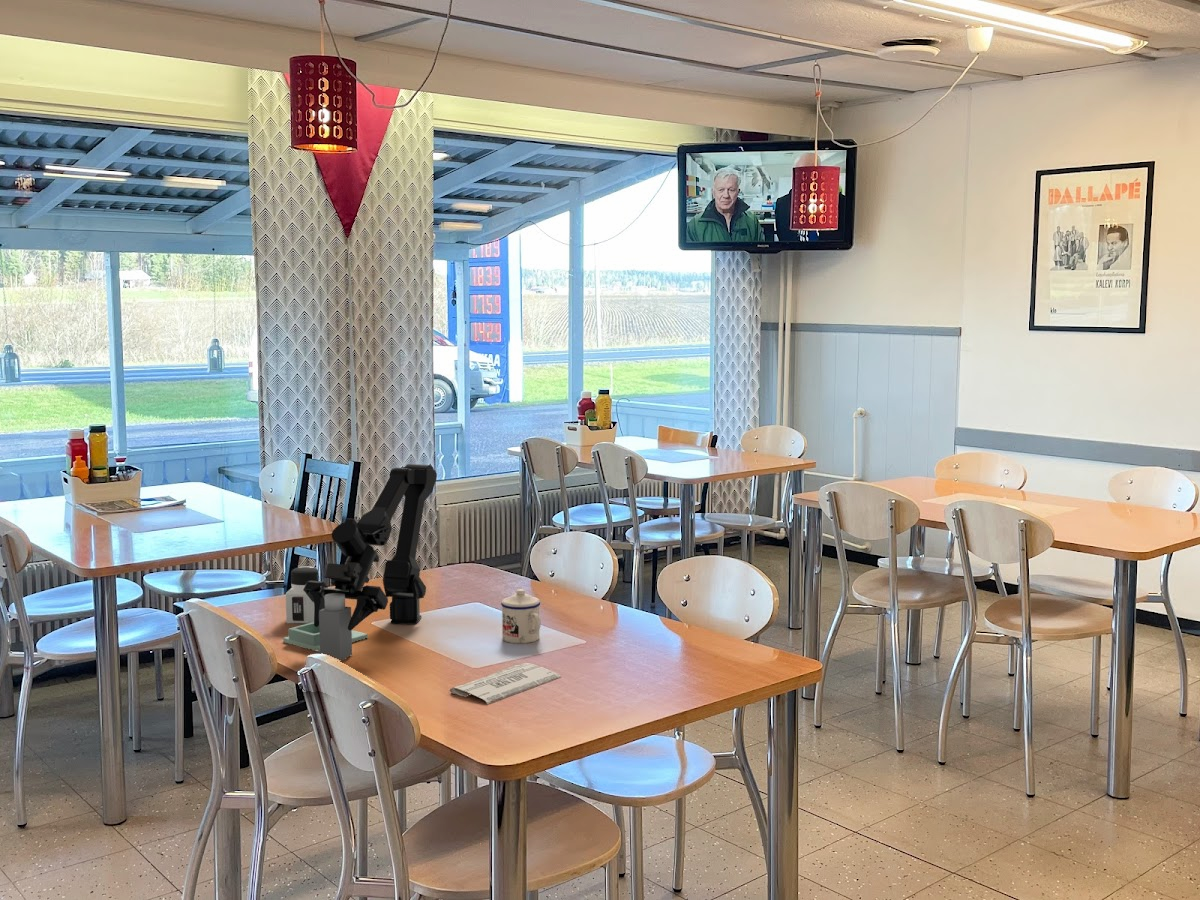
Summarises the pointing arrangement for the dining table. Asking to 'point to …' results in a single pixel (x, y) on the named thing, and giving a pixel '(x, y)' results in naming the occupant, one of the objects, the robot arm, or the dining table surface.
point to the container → (300, 596)
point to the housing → (312, 636)
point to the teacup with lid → (520, 618)
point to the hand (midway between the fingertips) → (332, 627)
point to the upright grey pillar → (335, 627)
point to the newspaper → (506, 682)
